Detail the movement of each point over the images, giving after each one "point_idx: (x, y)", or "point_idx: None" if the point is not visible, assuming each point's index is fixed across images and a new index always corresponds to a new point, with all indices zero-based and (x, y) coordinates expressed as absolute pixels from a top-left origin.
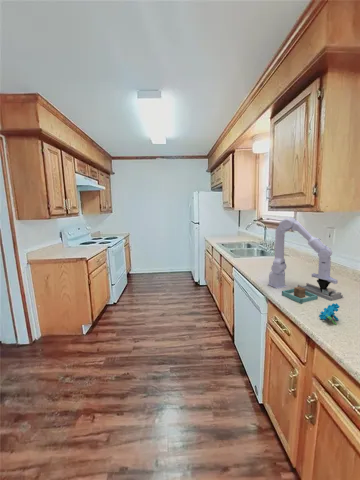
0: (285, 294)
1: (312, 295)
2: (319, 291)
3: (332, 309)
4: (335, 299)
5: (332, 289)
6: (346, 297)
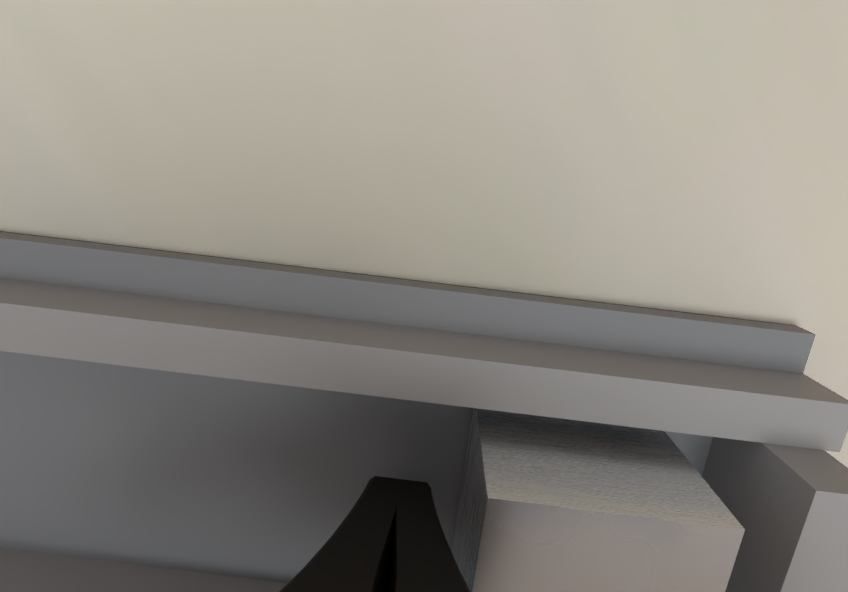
0: None
1: None
2: (251, 411)
3: None
4: None
5: (639, 559)
6: (806, 187)
